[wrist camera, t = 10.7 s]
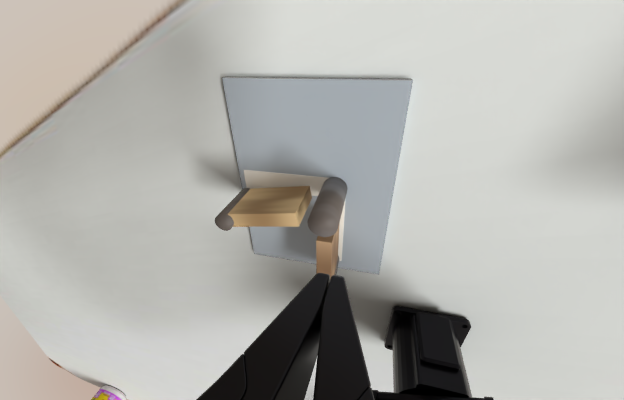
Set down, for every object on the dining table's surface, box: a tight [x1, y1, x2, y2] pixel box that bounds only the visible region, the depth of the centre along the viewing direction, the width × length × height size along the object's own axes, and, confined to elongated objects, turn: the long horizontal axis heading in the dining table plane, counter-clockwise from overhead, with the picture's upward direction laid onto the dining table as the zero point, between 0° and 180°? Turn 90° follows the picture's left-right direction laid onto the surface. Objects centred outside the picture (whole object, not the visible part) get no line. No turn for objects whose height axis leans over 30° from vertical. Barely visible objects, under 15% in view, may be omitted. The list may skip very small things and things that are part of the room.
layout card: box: [222, 77, 413, 274], centre depth 19 cm, size 15×11×1 cm
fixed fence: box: [307, 177, 348, 279], centre depth 18 cm, size 8×2×5 cm, turn 1°
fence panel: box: [215, 186, 312, 231], centre depth 18 cm, size 6×1×4 cm, turn 100°
